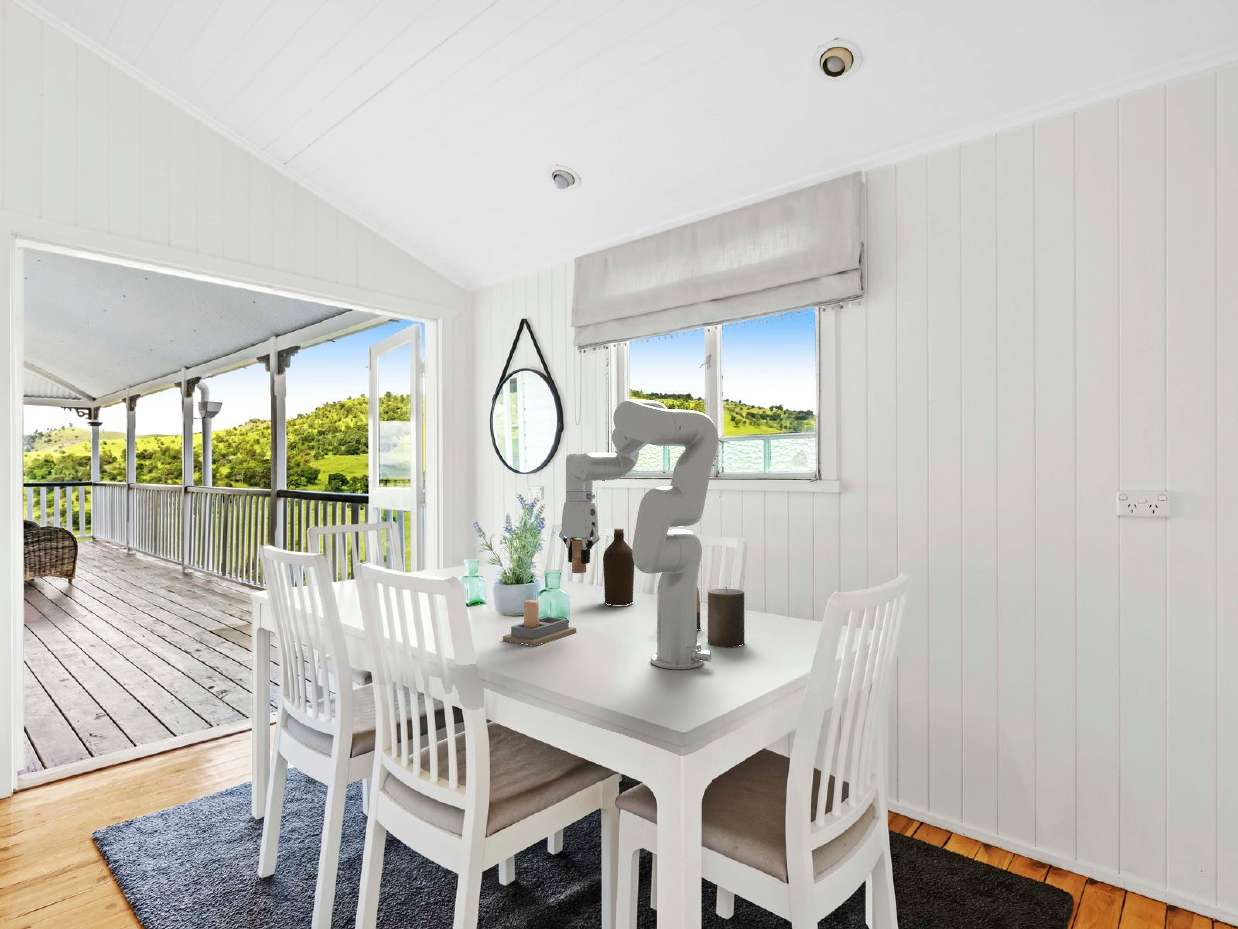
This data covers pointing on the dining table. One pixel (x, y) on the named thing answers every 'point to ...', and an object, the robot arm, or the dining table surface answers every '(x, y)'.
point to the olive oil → (618, 571)
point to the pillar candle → (726, 617)
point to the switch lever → (577, 557)
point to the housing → (538, 627)
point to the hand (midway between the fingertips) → (579, 562)
